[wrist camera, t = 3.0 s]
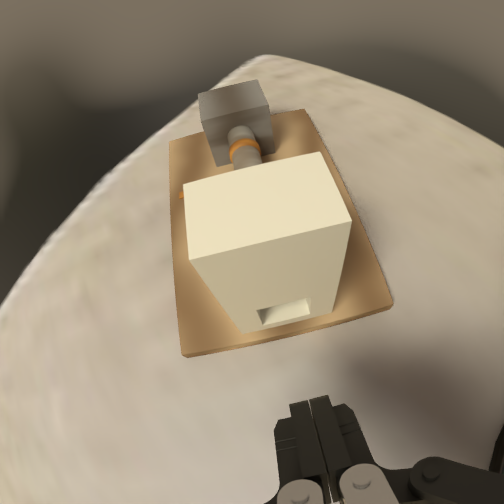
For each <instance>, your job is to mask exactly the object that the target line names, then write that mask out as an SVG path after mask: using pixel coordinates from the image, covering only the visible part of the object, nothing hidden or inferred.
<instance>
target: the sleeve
mask: <svg viewBox="0 0 504 504" xmlns="http://www.w3.org/2000/svg"><path fill="white" fill-rule="evenodd" d="M183 190H184V205H185V219H186V232H187V243H188V254H189V261H190V262H191V264H192V265H193V267H194V268H195V269H196V271H197V272H198V274H199V275H200V277H201V278H202V279H203V281H204V282H205V284H206V285H207V287H208V288H209V289H210V291H211V292H212V294H213V295H214V296H215V298H216V299H217V301H218V302H219V303H220V305H221V306H222V307H223V309H224V310H225V312H226V313H227V314H228V316H229V317H230V318H231V320H232V321H233V323H234V324H235V325H236V327H237V328H238V329H239V331H240V332H241V333H242V334H246V333H250V332H255V331H259V330H264V329H268V328H273V327H277V326H281V325H285V324H289V323H294V322H298V321H302V320H306V319H310V318H313V317H317V316H321V315H325V314H329V313H332V310H333V306H334V302H335V298H336V293H337V289H338V285H339V281H340V276H341V272H342V267H343V263H344V258H345V253H346V249H347V244H348V239H349V234H350V229H351V223H352V220H351V217H350V215H349V213H348V210H347V208H346V206H345V204H344V201H343V199H342V197H341V195H340V192H339V190H338V188H337V186H336V184H335V182H334V179H333V177H332V175H331V173H330V171H329V169H328V167H327V165H326V163H325V161H324V159H323V156H322V154H321V152H315V153H310V154H305V155H300V156H295V157H291V158H286V159H281V160H277V161H272V162H268V163H264V164H259V165H255V166H251V167H247V168H243V169H239V170H235V171H231V172H227V173H223V174H219V175H215V176H211V177H208V178H204V179H200V180H197V181H193V182H190V183H186V184H183Z"/></svg>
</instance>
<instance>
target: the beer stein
mask: <svg viewBox="0 0 504 504" xmlns="http://www.w3.org/2000/svg"><path fill="white" fill-rule="evenodd" d="M489 471H491V472H495V473H499V474H504V426H503V429H502V431H501V433H500V435H499V437H498V439H497V441H496V443H495V447H494V451H493V456H492V460H491V463H490V467H489Z"/></svg>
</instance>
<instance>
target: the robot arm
mask: <svg viewBox="0 0 504 504" xmlns="http://www.w3.org/2000/svg"><path fill="white" fill-rule="evenodd" d="M309 401H310V407H311V410H310V407H309V403H308V400H305V401H301V402H297V403H293V404H289V406H290V412H291V417H290V418H285V419H281V420H278V422H277V424H276V427H275V429H274V437H275V445H276V454H277V463H278V471H279V480H280V486H279V490H278V492H277V494H276V495H275V496H274V497H273V498H272V499H271V500H270V501H268V502H267V503H264V504H330V503H331V497H330V491H331V495H332V499H333V503H334V502H338V501H339V502H340V504H504V474H499V473H495V472H491V471H487V470H483V469H479V468H475V467H472V466H468V465H464V464H461V463H457V462H454V461H451V460H447V459H444V458H441V457H427V458H424V459H422V460H420V461H419V462H417V463H416V464H415V465H414V467H413V468H408V469H399V470H389V469H385V468H382V467H380V466H379V465H378V464H376V462H375V461H374V460H373V457H372V455H371V453H370V450H369V448H368V445H367V443H366V440H365V438H364V436H363V433H362V431H361V428H360V426H359V423H358V422H357V419H356V416H355V414H354V412H353V410H352V409H350V408H349V407H348V406H347V405H345V404H341V405H337V406H334V407H332V405H331V402H330V399H329V396H328V395H325V396H321V397H317V398H313V399H309ZM311 412H312V414H311ZM312 417H313V418H312ZM328 483H329V484H328ZM329 487H330V491H329Z"/></svg>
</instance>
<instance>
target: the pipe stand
mask: <svg viewBox="0 0 504 504" xmlns="http://www.w3.org/2000/svg"><path fill="white" fill-rule="evenodd" d="M198 100H199V109H200V118H201V123H202V126H203V129H204V132H200V133H197V134H193V135H190V136H186V137H183V138H179V139H176V140H173V141H170V142H169V179H170V215H171V237H172V254H173V270H174V283H175V295H176V306H177V317H178V327H179V336H180V345H181V354H182V355H183V356H185V357H186V358H189V357H195V356H201V355H206V354H212V353H217V352H222V351H228V350H233V349H238V348H242V347H247V346H252V345H257V344H261V343H266V342H270V341H275V340H279V339H283V338H287V337H291V336H296V335H300V334H304V333H308V332H312V331H315V330H319V329H323V328H327V327H331V326H334V325H338V324H341V323H345V322H349V321H352V320H356V319H359V318H362V317H366V316H369V315H372V314H376V313H379V312H382V311H385V310H389V309H390V308H391V307H392V305H393V304H394V303H393V301H392V298H391V295H390V292H389V290H388V287H387V284H386V282H385V279H384V276H383V274H382V271H381V269H380V266H379V264H378V261H377V259H376V256H375V254H374V251H373V249H372V246H371V244H370V241H369V239H368V237H367V234H366V232H365V230H364V227H363V225H362V223H361V221H360V218H359V216H358V214H357V212H356V209H355V207H354V205H353V203H352V201H351V198H350V196H349V194H348V192H347V190H346V188H345V186H344V184H343V182H342V179H341V177H340V175H339V173H338V171H337V169H336V167H335V165H334V163H333V161H332V159H331V157H330V155H329V153H328V152H327V150H326V148H325V146H324V144H323V142H322V140H321V138H320V136H319V134H318V133H317V131H316V129H315V127H314V125H313V123H312V122H311V120H310V118H309V116H308V114H307V113H306V111H305V109H300V110H295V111H290V112H284V113H279V114H274V115H270V111H269V105H268V102H267V100H266V98H265V96H264V93H263V91H262V89H261V87H260V85H259V82H258V80H252V81H248V82H243V83H239V84H234V85H230V86H226V87H222V88H218V89H214V90H210V91H207V92H203V93H199V94H198ZM315 152H321V154H322V156H323V159H324V161H325V163H326V165H327V167H328V169H329V171H330V173H331V175H332V177H333V179H334V182H335V184H336V186H337V188H338V190H339V192H340V195H341V197H342V199H343V201H344V204H345V206H346V208H347V210H348V213H349V215H350V217H351V220H352V223H351V229H350V234H349V239H348V244H347V249H346V253H345V258H344V263H343V267H342V272H341V276H340V281H339V285H338V289H337V293H336V298H335V302H334V306H333V310H332V313H329V314H325V315H321V316H317V317H313V318H310V319H306V320H302V321H298V322H294V323H289V324H285V325H281V326H277V327H273V328H268V329H264V330H259V331H255V332H250V333H246V334H242V333H241V332H240V331H239V329H238V328H237V327H236V325H235V324H234V323H233V321H232V320H231V318H230V317H229V316H228V314H227V313H226V312H225V310H224V309H223V307H222V306H221V305H220V303H219V302H218V301H217V299H216V298H215V296H214V295H213V294H212V292H211V291H210V289H209V288H208V287H207V285H206V284H205V282H204V281H203V279H202V278H201V277H200V275H199V274H198V272H197V271H196V269H195V268H194V267H193V265H192V264H191V262H190V261H189V254H188V243H187V232H186V219H185V205H184V190H183V184H186V183H190V182H193V181H197V180H200V179H204V178H208V177H211V176H215V175H219V174H223V173H227V172H231V171H235V170H239V169H243V168H247V167H251V166H255V165H259V164H264V163H268V162H272V161H277V160H281V159H286V158H291V157H295V156H300V155H305V154H310V153H315Z"/></svg>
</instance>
